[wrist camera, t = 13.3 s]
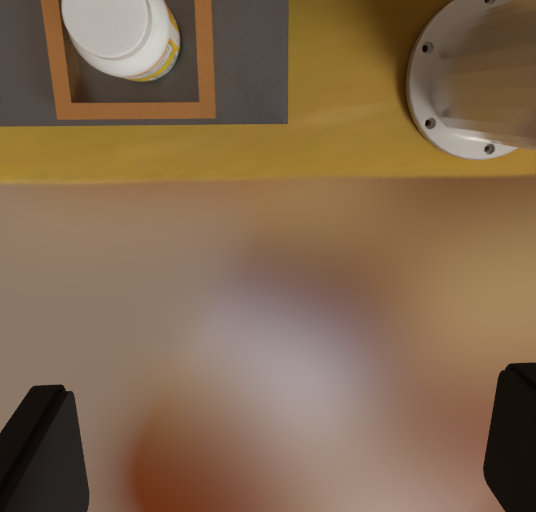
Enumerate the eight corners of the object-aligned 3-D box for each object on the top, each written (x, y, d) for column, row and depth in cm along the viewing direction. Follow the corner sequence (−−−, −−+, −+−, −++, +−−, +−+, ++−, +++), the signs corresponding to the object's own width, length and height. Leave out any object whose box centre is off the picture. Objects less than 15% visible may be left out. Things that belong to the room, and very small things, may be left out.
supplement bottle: (179, 86, 33) (160, 80, 24) (98, 77, 32) (47, 68, 23) (183, -2, 31) (164, -44, 22) (98, -13, 30) (42, -61, 21)
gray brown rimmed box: (282, -38, 34) (293, -68, 28) (281, 121, 38) (291, 125, 32) (-53, -43, 33) (-118, -76, 27) (-22, 123, 36) (-73, 129, 30)
